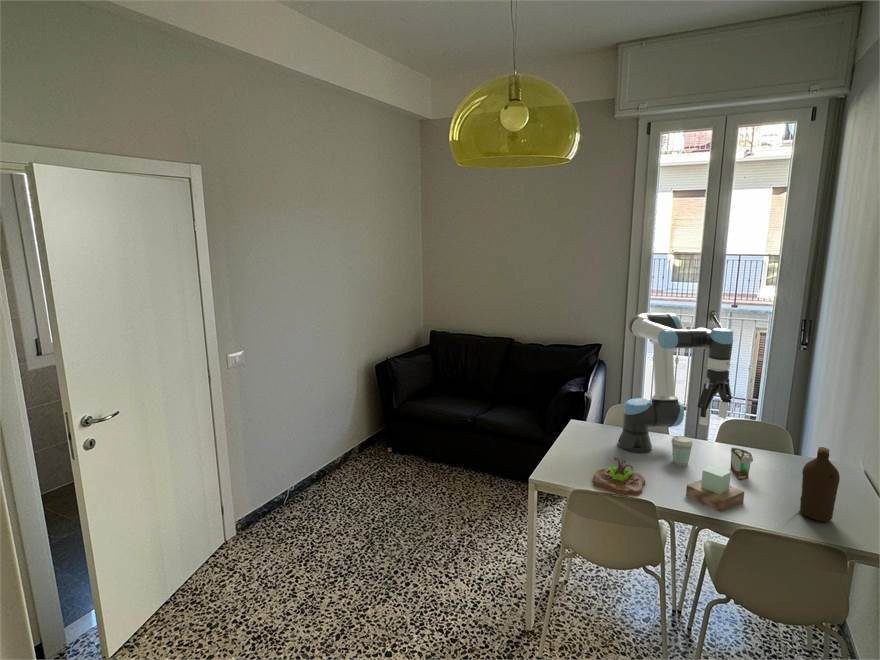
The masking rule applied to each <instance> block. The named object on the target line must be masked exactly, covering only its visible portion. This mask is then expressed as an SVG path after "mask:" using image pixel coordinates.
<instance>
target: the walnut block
mask: <svg viewBox="0 0 880 660" xmlns="http://www.w3.org/2000/svg"><path fill="white" fill-rule="evenodd" d="M701 484H702V479H699V480H697V481H694V482H691V483H688V484H686V490H685V491H686V492H685V497H687V498H689V499H691V500H693V501H696V502H698V503H699V504H702V505H705V506H706V507H708V508H710V509H712V510H714V511H716V512H719V513H723V512H725V511H727V510H730V509H731V508H732V509H733V508H734V507H736V506H739V505H741V504H742V505H743V504H744V502H745V501H744V500H745V491H744V490H741V489H739V488H736V487H734V486H732V485H730V486H729V490H727V491H725V492H723V493H722V494H717V493H715V492H712V491H710V490H707V489H705V488H702V487H701Z"/></svg>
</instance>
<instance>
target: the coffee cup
mask: <svg viewBox="0 0 880 660" xmlns="http://www.w3.org/2000/svg"><path fill="white" fill-rule="evenodd" d="M692 440H693V439H691V438H690V437H688V436H684V435H675V436H673V437H672V439H671V444H672V445H671V448H672V462H673V464H674V465H676V466H679V467H687V466H688V465H689V461H690V457H691V451H692V447H693V444H694V443H693V441H692Z"/></svg>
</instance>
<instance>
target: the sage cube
mask: <svg viewBox="0 0 880 660" xmlns="http://www.w3.org/2000/svg"><path fill="white" fill-rule="evenodd" d="M731 472H732V471H730V470H727V469H723V468H720V467H718V466H715V465H710V466H708V467H706V468H704V469H702V475H701V480H702V484H701V487H702V488H705V489H707V490H710V491H712V492H715V493H717V494H722V493H723V492H725V491H727V490H729V486H731V484H730V483H731Z"/></svg>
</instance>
